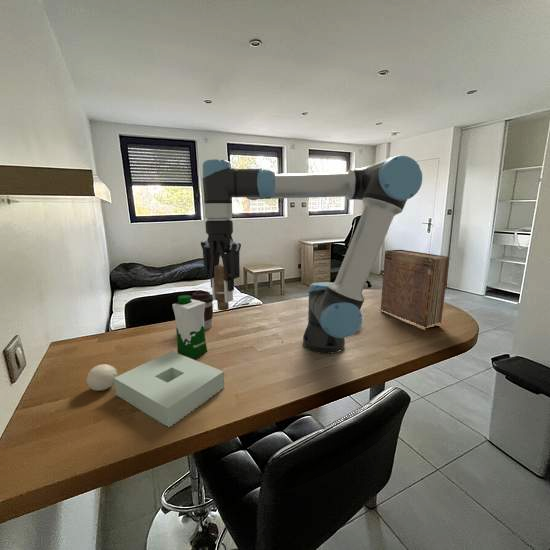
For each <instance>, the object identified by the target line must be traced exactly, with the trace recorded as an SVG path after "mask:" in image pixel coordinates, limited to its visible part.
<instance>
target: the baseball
mask: <svg viewBox="0 0 550 550" xmlns="http://www.w3.org/2000/svg"><path fill="white" fill-rule="evenodd" d="M117 376H119V375H118V370H117V369H116V368H115V367H114V366H112V365H110V364H106V363H105V364H98V365H96V366H94V367H92V368H91V369H90V370H89V371H88V373H87V376H86V382H87V385H88V386H89V388H90V389H91V390H93V391H99V392H101V391H105V390H107V389H109V388H110V387H111V386H113V384H115V383H114V378H115V377H117Z"/></svg>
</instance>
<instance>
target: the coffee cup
mask: <svg viewBox="0 0 550 550" xmlns="http://www.w3.org/2000/svg"><path fill="white" fill-rule="evenodd" d="M190 296H191V299H193V300H198V301H201V302H205V303H206V304H205V310H204V327H205V331H206V330H209V329H211V328H212V326H213V317H214V313H213V311H214V303H213V301H214V300H213V294H211V293H210V292H209V291H206V290H201V291H195V292H193V293H192V295H190Z"/></svg>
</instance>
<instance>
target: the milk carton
mask: <svg viewBox="0 0 550 550" xmlns="http://www.w3.org/2000/svg"><path fill="white" fill-rule="evenodd" d="M191 296H192V295H189V294H182V295H178V297H177V302H176V303H173V304H172V310H173V312H174V317H175V318H174V319H175V328H176V329H175V331H176V341H177V345H176V346H177V353H178V354H181V355H183V356H186V357H188V358H191V359H193V360H195V359H196V358H198V357H199V356H202V355H203V354H206V353H207V352H208V347H207V343H206V332H205V331H206V330H205V327H204V310H205V304H206V303H205V302H201V301H198V300H193V299H191Z"/></svg>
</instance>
